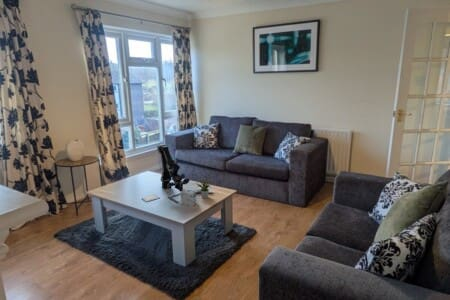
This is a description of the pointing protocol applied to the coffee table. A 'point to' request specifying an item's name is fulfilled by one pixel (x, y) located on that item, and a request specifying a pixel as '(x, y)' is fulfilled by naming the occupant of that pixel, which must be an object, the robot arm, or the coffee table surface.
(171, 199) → the label frame
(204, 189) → the house plant
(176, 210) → the coffee table surface
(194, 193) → the light bulb box
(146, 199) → the label plate
